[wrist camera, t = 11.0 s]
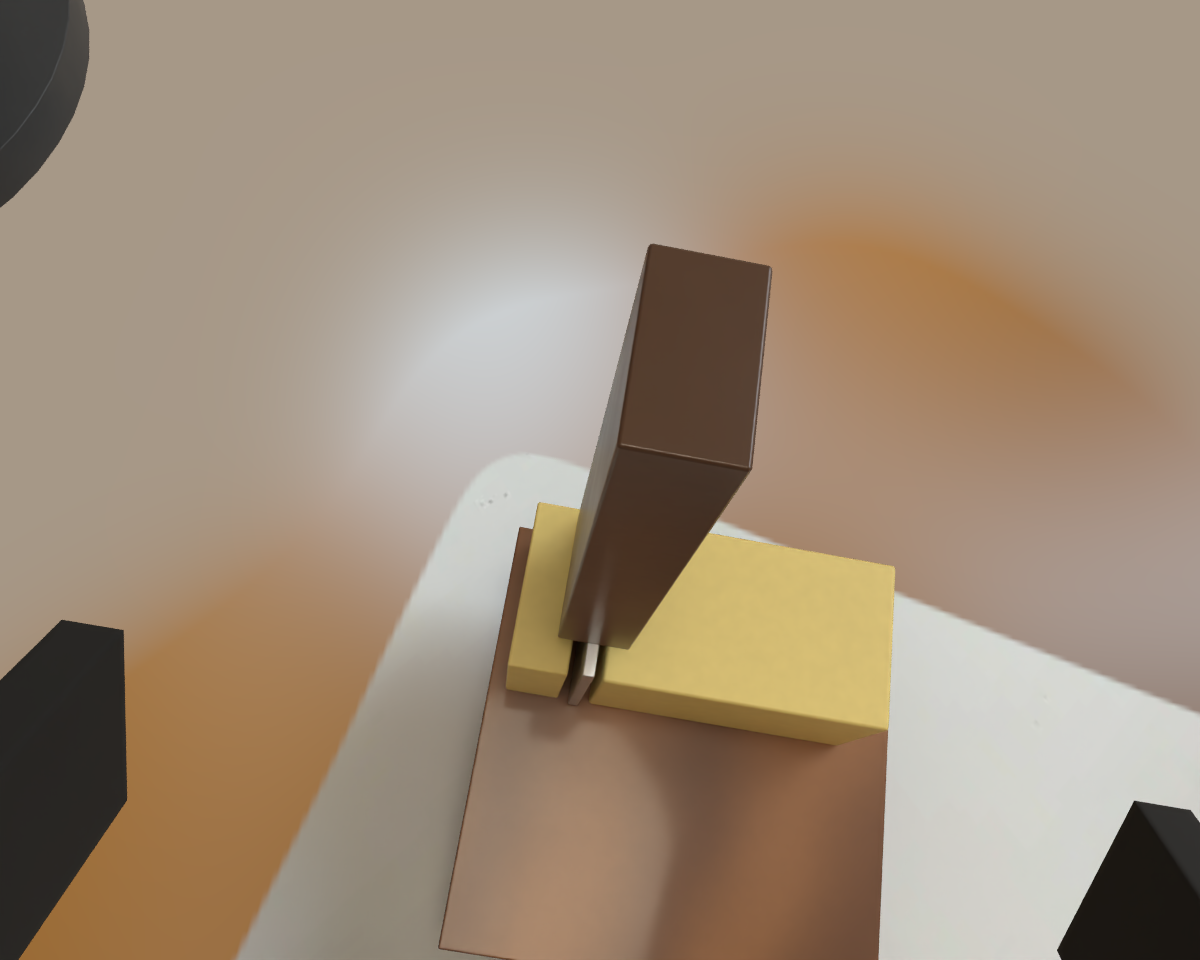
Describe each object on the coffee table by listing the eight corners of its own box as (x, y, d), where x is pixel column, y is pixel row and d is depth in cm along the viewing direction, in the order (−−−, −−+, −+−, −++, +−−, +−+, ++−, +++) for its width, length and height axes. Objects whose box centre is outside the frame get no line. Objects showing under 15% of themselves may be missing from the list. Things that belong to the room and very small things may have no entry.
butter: (505, 689, 28) (507, 665, 25) (532, 544, 30) (538, 501, 26) (838, 746, 29) (889, 731, 25) (847, 600, 30) (896, 565, 27)
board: (440, 944, 27) (437, 948, 26) (518, 540, 32) (519, 526, 30) (857, 1010, 28) (876, 1018, 26) (876, 604, 32) (894, 593, 31)
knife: (542, 699, 28) (607, 504, 12) (568, 543, 30) (656, 195, 14) (602, 710, 28) (746, 528, 12) (626, 554, 30) (778, 218, 14)
